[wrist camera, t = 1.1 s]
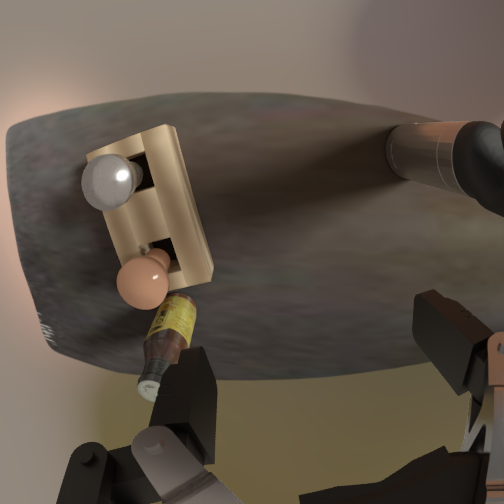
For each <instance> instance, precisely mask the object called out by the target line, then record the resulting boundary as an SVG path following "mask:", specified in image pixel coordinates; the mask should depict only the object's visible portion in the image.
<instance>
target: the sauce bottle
mask: <svg viewBox="0 0 504 504" xmlns="http://www.w3.org/2000/svg"><path fill="white" fill-rule="evenodd" d="M195 319H196V306H195V303H194V301H193V300H192V298H190V297H189V296H188V295H185V294H183V293H172V294H170V295H168V296H167V297H166V298H165V299H164V300H163V302H162V303H161V305H160V307H159V309H158V311H157V314H156V316H155V318H154V320H153V323H152V325H151V327H150V330H149V332H148V334H147V337H146V339H145V342H144V345H143V348H144V357H145V366H144V371H143V373H142V375H141V377H140V378H139V380H138V384H137V390H138V392H139V393H140V395H141V396H142V397H144V398H145V399H147V400H149V401H152V402H155V400H156V396H157V392H158V388H159V387H160V381H161V377H162V374H163V373H164V372H165V371H166V369H167V368H168V367H169V365H171V364H178V359H179V355H180V351H181V350H182V349H187V348H189V345H190V341H191V336H192V332H193V328H194V324H195Z"/></svg>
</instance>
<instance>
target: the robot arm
mask: <svg viewBox="0 0 504 504" xmlns="http://www.w3.org/2000/svg"><path fill="white" fill-rule="evenodd" d="M386 157H387V161H388V163H389V165H390V167H391V169H392V170H393V171H394V172H395V173H396V174H397V175H398V176H400V177H402V178H405V179H408V180H412V181H416V182H419V183H423V184H427V185H431V186H434V187H438V188H441V189H445V190H448V191H452V192H455V193H459V194H462V195H465V196H468V197H472V198H474V199H476V200H477V201H478V202H479V204H480V205H482V206H483V207H484V208H486V209H487V210H489V211H491V212H493V213H496V214H498V215H500V216H502V217H504V121H503V123H502V125H501V129H500V128H499V127H498V126H496V125H495V124H493V123H490V122H485V121H459V122H432V123H414V124H402V125H400V126H397V127H396V128H394V129H393V130H392V132H391V133H390V134H389V136H388V138H387V142H386ZM412 332H413V337H414V339H415V342H416V343H417V344H418V346H419V347H420V348H421V349H422V351H423V352H424V353H425V354H426V355H427V357H428V358H429V359H430V360H431V362H432V363H433V364H434V365H435V367H436V368H437V369H438V371H439V372H440V373H441V374H442V376H443V377H444V378H445V379H446V381H447V382H448V383H449V385H450V386H451V387H452V388H453V390H454V391H455V392H456V394H457V395H458V396H459V395H461V394H463V393H465V392H467V391H470V393H471V397H470V399H469V408H468V417H467V424H466V432H465V438H464V442H463V445H462V448H461V451H460V452H453V453H448V451H447V449H446V447H445V446H442V447H440V448H438V449H437V450H434V451H432V452H430V453H428V454H426V455H423V456H422V457H419V458H417V459H415V460H413V461H411V462H410V463H408V464H407V465H405V466H404V467H403V468H401V469H400V470H398V471H397V472H395V473H393V474H392V475H390V476H389V477H387V478H386V479H384V480H382V481H380V482H377V483H369V484H360V485H348V486H337V487H333V488H330V489H325V490H321V491H317V492H312V493H307V494H303V495H299V500H300V504H504V332H499V333H494V332H493V331H491V330H490V329H489V328H488V327H487V326H486V325H485V324H483V323H482V322H481V321H480V320H479V319H478V318H476V317H475V316H473V315H472V313H471V312H469V311H468V310H466V308H465V307H463V306H462V305H461V304H460V303H458V302H457V301H454V300H452V299H449V298H444V297H443V296H442V295H441V294H439V293H438V292H437V291H436V290H434V289H432V290H429V291H426V292H423V293H420V294H417V295H416V296H415V298H414V310H413V325H412ZM216 413H217V384H216V380H215V377H214V374H213V371H212V369H211V366H210V364H209V361H208V359H207V356H206V353H205V351H204V349H203V347H202V346H199V347H193V348H187V349H182V350H181V351H180V355H179V359H178V364H171V365H169V367H168V368H167V369H166V371H165V372H164V373H163V374H162V377H161V381H160V387H159V388H158V392H157V396H156V400H155V404H154V407H153V411H152V415H151V419H150V423H149V427H148V428H146V429H143V430H142V431H140V432H139V433H138V434H137V435H136V436H135V437H134V439H133V441H132V444H131V445H129V446H126V447H122V448H118V449H114V450H110V451H107V450H106V449H105V447H103V445H101V444H99V443H97V442H88V443H84V444H82V445H81V446H79V447H77V448H76V449H75V450H74V452H73V453H72V455H71V457H70V460H69V463H68V466H67V469H66V472H65V476H64V479H63V482H62V485H61V489H60V492H59V495H58V499H57V502H56V504H150V503H154V502H159V501H162V504H244V503H243V502H242V501H241V500H240V499H238V498H237V497H236V496H235V495H234V494H233V493H232V492H231V491H230V490H229V489H228V488H227V487H226V486H225V485H224V484H223V483H222V482H221V481H219V479H218V478H217V477H216V476H215V475H213V474H212V473H211V472H210V473H209V472H208V471H207V470H206V469H205V468H204V465H207V464H214V463H215V435H216Z"/></svg>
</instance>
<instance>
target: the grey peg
mask: <svg viewBox="0 0 504 504" xmlns="http://www.w3.org/2000/svg"><path fill="white" fill-rule="evenodd" d="M142 179H143V171H142V168H141V167H140V166H139V165H138V164H137V163H135V162H130V161H129V160H128V159H126V158H125V157H123V156H121V155H118V154H104V155H100V156H97V157H95V158H94V159H92V160H91V161H90V162H89V163H88V164H87V166H86V167H85V169H84V172H83V175H82V181H81V185H82V191H83V194H84V196H85V198H86V200H87V201H88V202H89V204H90V205H92V206H93V207H94V208H96V209H98V210H102V211H111V210H114V209H116V208H118V207H120V206H122V205H124V204H125V203H126V202H128V201H129V200H130V198H131V197H132V196H133V194H134V191H135V188H136V187H138V186H139V185H140V184H141V182H142Z"/></svg>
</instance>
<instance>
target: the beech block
mask: <svg viewBox="0 0 504 504" xmlns="http://www.w3.org/2000/svg"><path fill="white" fill-rule="evenodd" d="M104 154H118V155H121V156H123V157H125V158H126V159H128V160H130V159H133V158H136V157H138V156H141V155H144V154H146V157H147V161H148V164H149V168H150V172H151V175H152V179H153V182H154V186H151V187H148V188H145V189H142V190H139V191H134V194H133V196H132V197H131V198H130V200H129V201H128V202H126V203H125V204H124V205H122V206H120V207H118V208H116V209H114V210H111V211H102V212H103V215H104V218H105V221H106V224H107V227H108V230H109V233H110V235H111V238H112V241H113V244H114V247H115V249H116V252H117V255H118V257H119V260H120V263H121V265H122V267H123V266H124V265H125V264H126V262H127V261H128V260H130V259H131V258H133V257H136V256H142V255H143V256H145V255H146V254H147V253H148V252H149V251H150V250H151V249H154V247H153V244H152V242H154V241H158V240H161V239H165V238H169V237H170V238H171V241H172V244H173V247H174V250H175V253H176V256H177V259H174V260H170V267H169V269H168V271H167V272H168V275H169V279H170V286H169V290H168V291H170V290H175V289H179V288H183V287H188V286H192V285H197V284H201V283H205V282H209V281H211V278H212V273H213V268H214V263H213V260H212V257H211V254H210V250H209V247H208V244H207V240H206V237H205V234H204V230H203V227H202V224H201V220H200V217H199V213H198V210H197V206H196V203H195V199H194V196H193V192H192V189H191V185H190V182H189V178H188V174H187V171H186V167H185V164H184V160H183V156H182V152H181V149H180V145H179V141H178V137H177V133H176V130H175V127H173V126H169V125H166V124H164V125H161V126H158V127H155V128H152V129H150V130H147V131H144V132H141V133H138V134H136V135H133V136H130V137H128V138H125V139H123V140H120V141H117V142H115V143H112V144H110V145H108V146H105V147H103V148H100V149H98V150H96V151H93V152H91V153H89V154H87V155H86V156H87V160H88V163H89V162H90V161H91V160H92V159H94V158H95V157H97V156H100V155H104Z"/></svg>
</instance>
